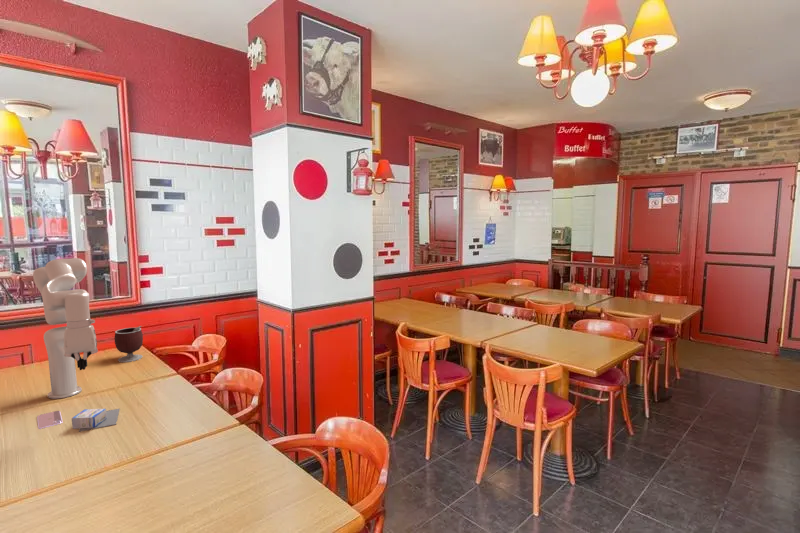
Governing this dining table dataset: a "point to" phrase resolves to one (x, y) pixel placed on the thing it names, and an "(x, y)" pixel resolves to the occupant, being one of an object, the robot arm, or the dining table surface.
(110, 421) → the mat
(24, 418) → the dining table surface
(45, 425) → the mobile phone
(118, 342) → the mate gourd
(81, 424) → the medicine box
